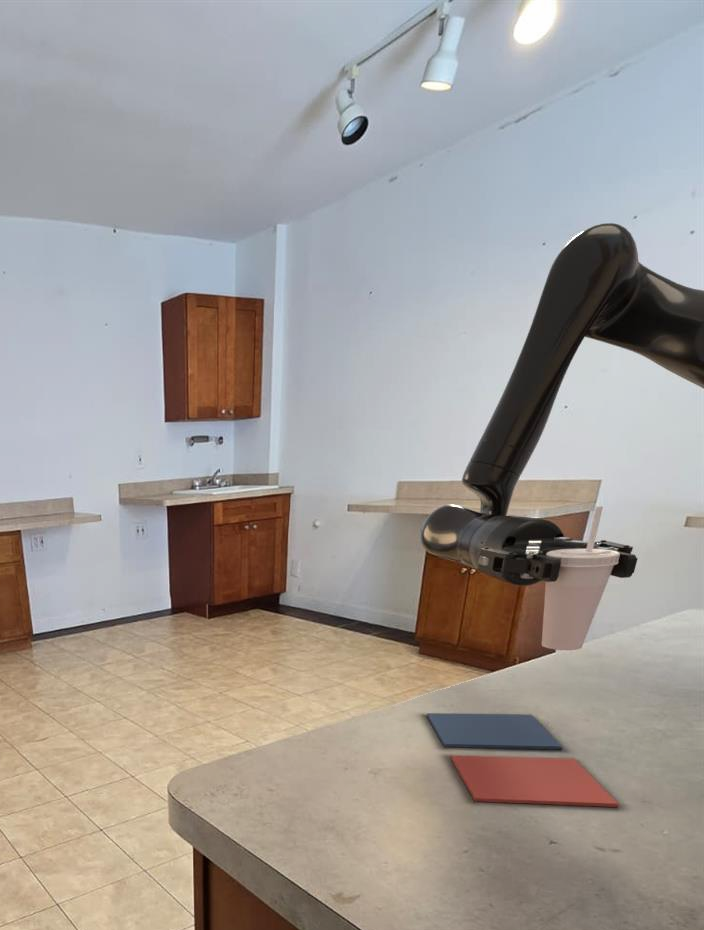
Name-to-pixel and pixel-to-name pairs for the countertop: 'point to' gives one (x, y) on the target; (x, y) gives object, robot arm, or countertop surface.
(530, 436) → the robot arm
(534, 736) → the blue mat
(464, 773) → the red mat
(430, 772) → the countertop surface
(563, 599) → the smoothie
